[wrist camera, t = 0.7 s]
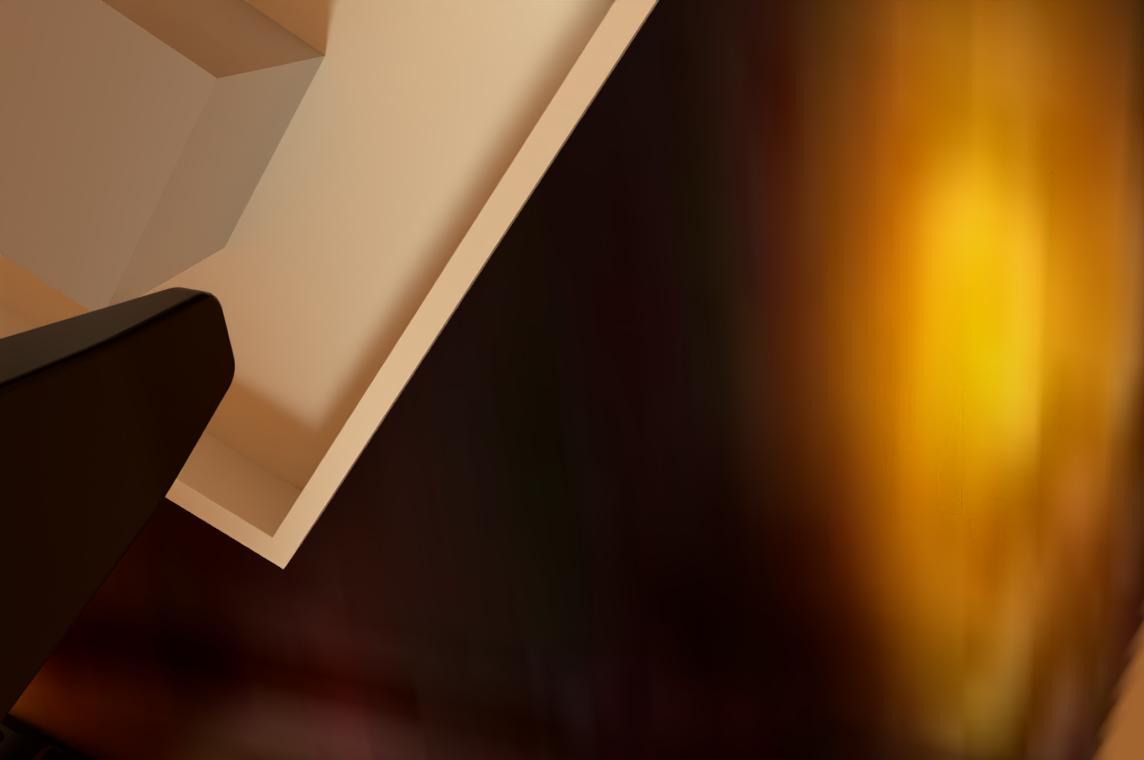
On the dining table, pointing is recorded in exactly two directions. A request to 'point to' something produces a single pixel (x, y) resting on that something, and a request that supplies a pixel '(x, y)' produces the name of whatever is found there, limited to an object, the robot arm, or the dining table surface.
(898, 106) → the dining table surface
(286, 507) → the bin
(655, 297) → the dining table surface
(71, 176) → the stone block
